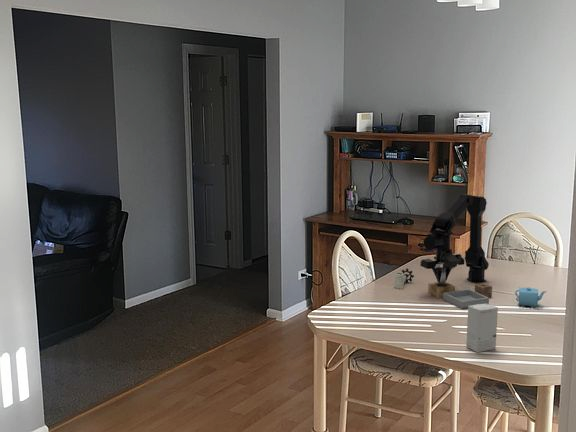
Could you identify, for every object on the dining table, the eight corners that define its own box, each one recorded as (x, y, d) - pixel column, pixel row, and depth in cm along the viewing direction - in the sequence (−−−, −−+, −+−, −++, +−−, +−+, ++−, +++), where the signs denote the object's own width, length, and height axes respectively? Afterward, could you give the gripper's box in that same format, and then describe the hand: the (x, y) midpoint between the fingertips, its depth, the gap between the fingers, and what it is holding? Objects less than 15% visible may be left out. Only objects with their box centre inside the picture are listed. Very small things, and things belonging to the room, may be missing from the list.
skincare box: (477, 353, 212) (479, 310, 209) (465, 346, 218) (467, 305, 215) (496, 348, 215) (499, 307, 213) (484, 342, 221) (486, 301, 218)
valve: (404, 290, 280) (414, 283, 290) (405, 275, 279) (414, 269, 289) (390, 288, 284) (400, 281, 294) (391, 273, 282) (400, 267, 292)
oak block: (443, 290, 280) (444, 281, 279) (454, 295, 272) (455, 286, 272) (428, 292, 277) (428, 283, 276) (438, 297, 270) (439, 288, 269)
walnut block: (484, 294, 274) (484, 282, 273) (491, 297, 269) (492, 286, 268) (474, 295, 272) (474, 284, 271) (481, 299, 267) (482, 287, 266)
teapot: (545, 304, 259) (547, 287, 258) (546, 309, 254) (547, 291, 252) (514, 301, 263) (515, 284, 262) (514, 306, 258) (515, 288, 256)
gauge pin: (442, 288, 276) (443, 266, 274) (446, 290, 273) (447, 268, 272) (436, 289, 275) (437, 267, 273) (440, 291, 272) (441, 269, 271)
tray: (468, 295, 271) (469, 289, 271) (488, 305, 260) (489, 297, 259) (442, 299, 267) (443, 292, 266) (462, 309, 255) (462, 302, 254)
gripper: (435, 252, 260) (434, 289, 263) (473, 248, 267) (471, 283, 270) (420, 246, 270) (419, 282, 273) (457, 242, 277) (455, 277, 280)
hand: (441, 281), depth 274 cm, fingers closed on gauge pin, 3 cm apart
